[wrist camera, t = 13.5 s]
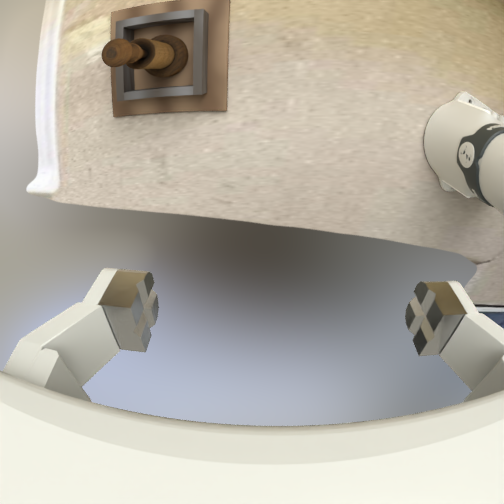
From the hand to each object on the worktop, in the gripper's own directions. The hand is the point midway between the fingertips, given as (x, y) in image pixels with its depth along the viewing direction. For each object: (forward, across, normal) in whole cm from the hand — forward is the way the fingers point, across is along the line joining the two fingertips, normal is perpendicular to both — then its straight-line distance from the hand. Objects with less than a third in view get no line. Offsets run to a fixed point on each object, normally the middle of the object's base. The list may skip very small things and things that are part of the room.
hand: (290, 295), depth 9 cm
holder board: (+39, +15, -9) cm, 43 cm away
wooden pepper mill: (+38, +15, -9) cm, 42 cm away
